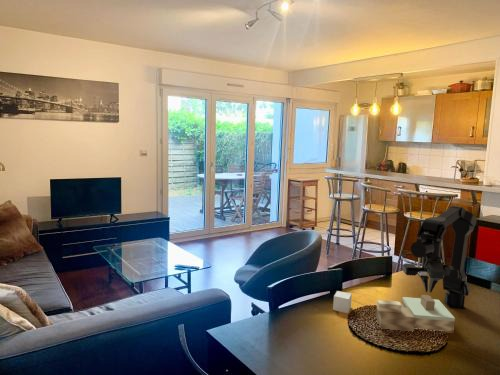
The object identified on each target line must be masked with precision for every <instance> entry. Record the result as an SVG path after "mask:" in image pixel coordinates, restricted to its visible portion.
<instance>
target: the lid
mask: <svg viewBox="0 0 500 375" xmlns="http://www.w3.org/2000/svg"><path fill="white" fill-rule="evenodd" d="M401 299H402V300H403V302H404V303H405V305H406V306H407V308H409V309H410V311H411V312H412V314H413V315H414V317H415V318H420V319H432V320H445V321H455V322H456V318H455V316H454V315H453V314H452V313H451V311H450V310H449V309H447V307H445V305H444V304H443V303H442V302H441V301H440V299H435V298H434V299H433V297H432V296H430V295H428V294H421V296H420V297H410V296H408V297H407V296H402V298H401ZM402 300H401V301H402Z"/></svg>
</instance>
